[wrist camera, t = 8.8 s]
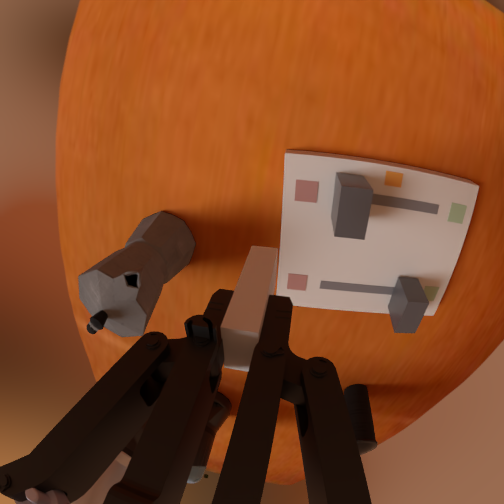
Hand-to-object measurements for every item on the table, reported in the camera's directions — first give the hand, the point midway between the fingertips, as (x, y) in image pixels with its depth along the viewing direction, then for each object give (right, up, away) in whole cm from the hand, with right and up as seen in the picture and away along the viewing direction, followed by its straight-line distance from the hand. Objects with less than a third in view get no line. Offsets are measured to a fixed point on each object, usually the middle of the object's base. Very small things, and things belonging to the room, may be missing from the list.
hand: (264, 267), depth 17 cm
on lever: (+19, -4, +16) cm, 26 cm away
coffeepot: (-14, +2, +23) cm, 27 cm away
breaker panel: (+15, +3, +16) cm, 22 cm away
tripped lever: (+9, +7, +12) cm, 17 cm away
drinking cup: (+21, -27, +33) cm, 47 cm away
